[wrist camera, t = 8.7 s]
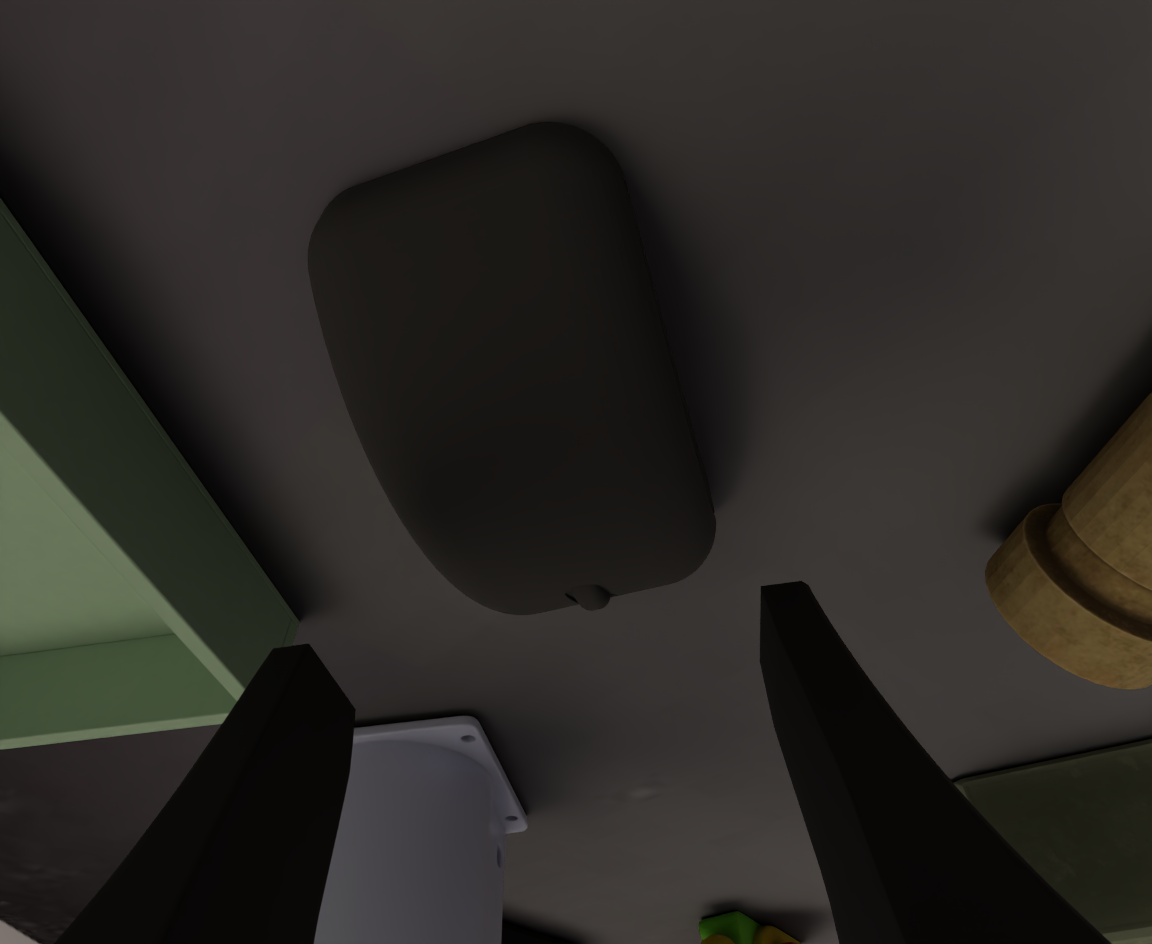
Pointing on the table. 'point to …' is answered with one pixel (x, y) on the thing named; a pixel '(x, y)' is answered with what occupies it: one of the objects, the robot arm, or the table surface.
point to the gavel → (1088, 566)
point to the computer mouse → (515, 371)
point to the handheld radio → (1082, 831)
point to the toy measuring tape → (740, 931)
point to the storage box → (107, 542)
